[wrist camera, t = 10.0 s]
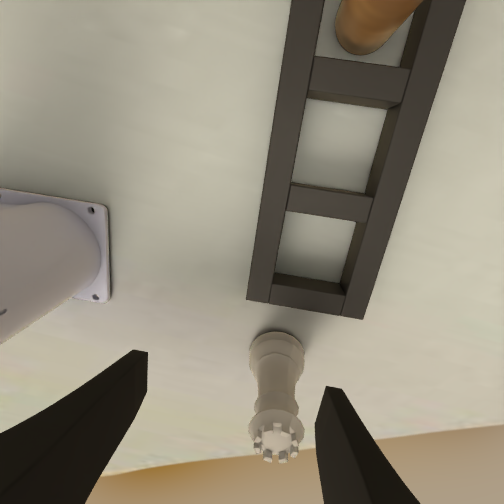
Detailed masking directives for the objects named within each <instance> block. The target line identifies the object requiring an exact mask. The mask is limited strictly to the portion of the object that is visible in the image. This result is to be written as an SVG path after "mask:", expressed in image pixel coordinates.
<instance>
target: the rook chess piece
mask: <svg viewBox="0 0 504 504" xmlns="http://www.w3.org/2000/svg"><path fill="white" fill-rule="evenodd" d="M249 366H250V369H251V371H252V373H253V375H254V377H255V379H256V381H257V383H258V398H257V400H256V402H255V406H254V410H255V412H256V415H255V416H254V417H253V418H252V420H251V421H250V423H249V434H250V436H251V438H252V440H253V441H254V450H255V452H256V454H259V453H261V450H262V451H263V460H266V461H268V462H271V461H272V455H279V463H284V462H288V453H290V456H292V457H293V458H295V457H296V456H297V454H298V446H299V443H300V442H301V440H302V439H303V438H304V427H303V425H302V423H301V421H300V420H299V419H298V418H297V417H296V416H297V415H298V409H299V407H298V405H297V402H296V400H295V395H294V394H295V385H296V383H297V381H298V380H299V378H300V376H301V374H302V373H303V370H304V350H303V348H302V345H301V343H300V342H298V341H297V340H296V339H295V338H294V337H293V336H291V335H288V334H286V333H284V332H269V333H266V334H262V335H261V336H259V337H258V338H257V339H255V340H254V341H253V343H252V345H251V347H250V356H249Z"/></svg>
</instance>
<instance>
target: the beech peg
mask: <svg viewBox="0 0 504 504" xmlns="http://www.w3.org/2000/svg"><path fill="white" fill-rule="evenodd" d="M422 1H423V0H342V1H341V4H340V6H339V9H338V12H337V15H336V21H335V30H336V35H337V38H338V40H339V43H340V44H341V46H342V47H343V48H344V49H345V50H347V51H348V52H350V53H352V54H356V55H365V54H369V53H372V52H374V51H376V50H377V49H379V48H380V47H381V46H382V45H383V44H384V43H385V42H386V41H387V40H388V39H389V38H390V36H391V35H392V34H393V33H394V32H395V31H396V30H397V29H398V28H399V27H400V25H401V24H402V23H403V22H404V21H405V20H406V19H407V18H408V17H409V16H410V15H411V13H412V12H413V11H414V10H415V9H416V8H417V7H418V6H419V5H420V4H421V2H422Z"/></svg>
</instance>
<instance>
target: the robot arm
mask: <svg viewBox="0 0 504 504" xmlns="http://www.w3.org/2000/svg"><path fill="white" fill-rule="evenodd" d="M0 194H1V196H0V345H1V344H3V343H4V342H6V341H7V340H9V339H10V338H12V337H13V336H15V335H16V334H18V333H19V332H21V331H22V330H24V329H25V328H27V327H28V326H30V325H31V324H33V323H34V322H36V321H37V320H39V319H40V318H42V317H43V316H45V315H46V314H48V313H49V312H51V311H52V310H54V309H55V308H57V307H58V306H60V305H61V304H63V303H64V302H66V301H67V300H69V299H70V298H75V299H80V300H86V301H92V302H97V303H107V302H108V301H109V300H110V269H109V238H108V211H107V208H106V207H105V206H104V205H102V204H97V203H91V202H85V201H79V200H72V199H66V198H60V197H54V196H48V195H42V194H35V193H29V192H23V191H17V190H11V189H4V188H0ZM91 208H94V210H95V213H93V212H92V210H91ZM96 295H98V296H99V298H98V297H97V296H96ZM147 370H148V352H144V351H139V350H132V351H130V352H129V353H128V354H126V355H125V356H123V357H122V358H120V359H119V360H118V361H116V362H115V363H114V364H112V365H111V366H109V367H108V368H107V369H105V370H104V371H102V372H101V373H100V374H98V375H97V376H95V377H94V378H92V379H91V380H89V381H88V382H87V383H85V384H84V385H82V386H81V387H79V388H78V389H76V390H75V391H73V392H71V393H70V394H68V395H67V396H65V397H64V398H62V399H60V400H59V401H57V402H56V403H54V404H53V405H51V406H49V407H48V408H46V409H44V410H43V411H41V412H39V413H37V414H36V415H34V416H32V417H30V418H28V419H27V420H25V421H23V422H21V423H19V424H18V425H16V426H14V427H12V428H10V429H8V430H6V431H4V432H2V433H0V504H85V502H86V500H87V498H88V497H89V495H90V493H91V491H92V489H93V487H94V486H95V484H96V482H97V480H98V479H99V477H100V475H101V474H102V472H103V470H104V469H105V467H106V465H107V464H108V462H109V460H110V459H111V457H112V455H113V454H114V452H115V450H116V449H117V447H118V445H119V444H120V442H121V440H122V439H123V437H124V435H125V434H126V432H127V430H128V429H129V427H130V425H131V424H132V422H133V420H134V418H135V416H136V414H137V412H138V410H139V408H140V406H141V404H142V402H143V399H144V397H145V395H146V393H147ZM315 441H316V455H317V462H318V468H319V475H320V481H321V486H322V493H323V499H324V504H420V502H419V501H418V500H417V499H416V498H415V496H414V495H413V494H412V493H411V491H410V490H409V489H408V488H407V486H406V485H405V483H404V482H403V481H402V480H401V478H400V477H399V476H398V474H397V473H396V471H395V470H394V469H393V467H392V466H391V464H390V463H389V462H388V460H387V459H386V457H385V456H384V454H383V453H382V451H381V450H380V449H379V447H378V445H377V444H376V443H375V441H374V439H373V438H372V436H371V435H370V433H369V432H368V430H367V429H366V427H365V426H364V424H363V422H362V421H361V419H360V418H359V416H358V414H357V413H356V411H355V409H354V408H353V406H352V404H351V403H350V401H349V400H348V398H347V396H346V395H345V393H344V391H343V390H342V389H340V388H335V387H329V386H326V388H325V391H324V395H323V398H322V401H321V405H320V408H319V412H318V415H317V418H316V422H315Z"/></svg>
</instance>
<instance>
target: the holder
mask: <svg viewBox="0 0 504 504" xmlns="http://www.w3.org/2000/svg"><path fill="white" fill-rule="evenodd" d="M324 1H325V0H292V2H291V8H290V15H289V21H288V28H287V34H286V41H285V47H284V54H283V61H282V67H281V74H280V80H279V87H278V93H277V100H276V106H275V113H274V119H273V126H272V132H271V139H270V145H269V152H268V158H267V165H266V171H265V178H264V184H263V191H262V198H261V204H260V211H259V217H258V224H257V230H256V237H255V243H254V250H253V256H252V263H251V269H250V276H249V282H248V289H247V295H246V300H251V301H256V302H262V303H269V304H273V305H279V306H285V307H291V308H297V309H303V310H308V311H314V312H320V313H326V314H332V315H337V316H344V317H350V318H355V319H361V320H363V318H364V315H365V312H366V309H367V306H368V303H369V300H370V296H371V293H372V290H373V287H374V284H375V281H376V278H377V275H378V272H379V269H380V265H381V262H382V259H383V256H384V253H385V250H386V247H387V244H388V241H389V238H390V234H391V231H392V228H393V225H394V222H395V219H396V216H397V213H398V210H399V207H400V203H401V200H402V197H403V194H404V191H405V188H406V185H407V182H408V179H409V176H410V172H411V169H412V166H413V163H414V160H415V157H416V154H417V151H418V148H419V145H420V142H421V138H422V135H423V132H424V129H425V126H426V123H427V120H428V117H429V114H430V111H431V107H432V104H433V101H434V98H435V95H436V92H437V89H438V86H439V83H440V80H441V76H442V73H443V70H444V67H445V64H446V61H447V58H448V55H449V52H450V49H451V45H452V42H453V39H454V36H455V33H456V30H457V27H458V24H459V21H460V18H461V15H462V11H463V8H464V5H465V2H466V0H423V1H422V2H421V4H420V5H419V6H418V7H417V8H416V10H415V13H414V17H413V21H412V24H411V28H410V31H409V35H408V39H407V42H406V46H405V50H404V53H403V57H402V60H401V64H400V67H394V66H386V65H379V64H372V63H364V62H357V61H350V60H342V59H335V58H328V57H320V56H315V57H314V55H315V49H316V44H317V38H318V33H319V28H320V22H321V17H322V11H323V6H324ZM306 98H311V99H318V100H325V101H332V102H339V103H346V104H353V105H360V106H367V107H374V108H381V109H388V111H387V115H386V118H385V122H384V126H383V129H382V133H381V137H380V140H379V144H378V147H377V151H376V155H375V158H374V162H373V165H372V169H371V173H370V176H369V180H368V184H367V187H366V191H365V194H363V193H357V192H351V191H344V190H338V189H331V188H325V187H318V186H312V185H305V184H299V183H292V182H291V179H292V173H293V168H294V163H295V157H296V152H297V146H298V141H299V136H300V130H301V125H302V119H303V114H304V109H305V103H306ZM286 210H287V211H292V212H298V213H305V214H311V215H317V216H323V217H330V218H336V219H342V220H349V221H355V222H357V223H356V227H355V231H354V234H353V238H352V242H351V245H350V249H349V252H348V256H347V260H346V263H345V267H344V270H343V274H342V278H341V281H340V284H339V283H333V282H327V281H321V280H315V279H309V278H303V277H297V276H291V275H285V274H279V273H274V271H275V265H276V260H277V254H278V249H279V244H280V238H281V233H282V227H283V222H284V217H285V211H286Z"/></svg>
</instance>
